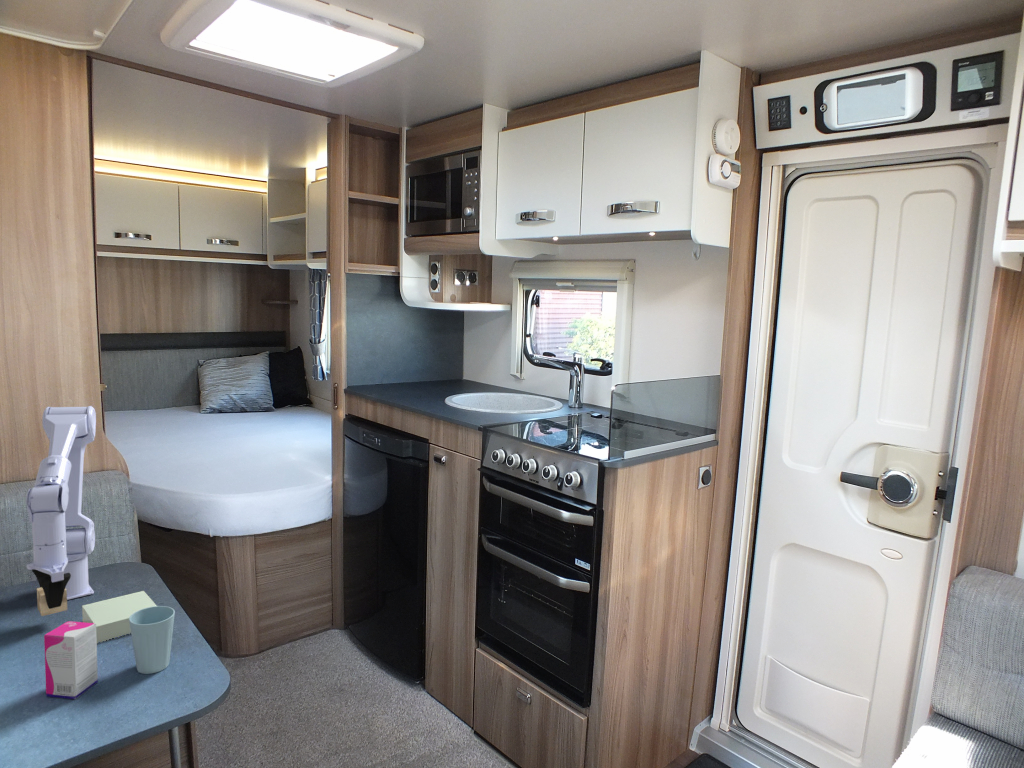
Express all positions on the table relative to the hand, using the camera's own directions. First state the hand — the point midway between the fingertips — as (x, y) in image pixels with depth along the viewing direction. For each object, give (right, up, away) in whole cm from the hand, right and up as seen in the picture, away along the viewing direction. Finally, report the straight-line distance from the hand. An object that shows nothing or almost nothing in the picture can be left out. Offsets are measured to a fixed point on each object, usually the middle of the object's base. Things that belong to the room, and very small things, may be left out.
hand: (52, 602), depth 140 cm
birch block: (0, -2, 0) cm, 2 cm away
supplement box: (+19, -9, -21) cm, 30 cm away
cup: (+29, -8, -13) cm, 32 cm away
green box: (+13, -6, +3) cm, 15 cm away
